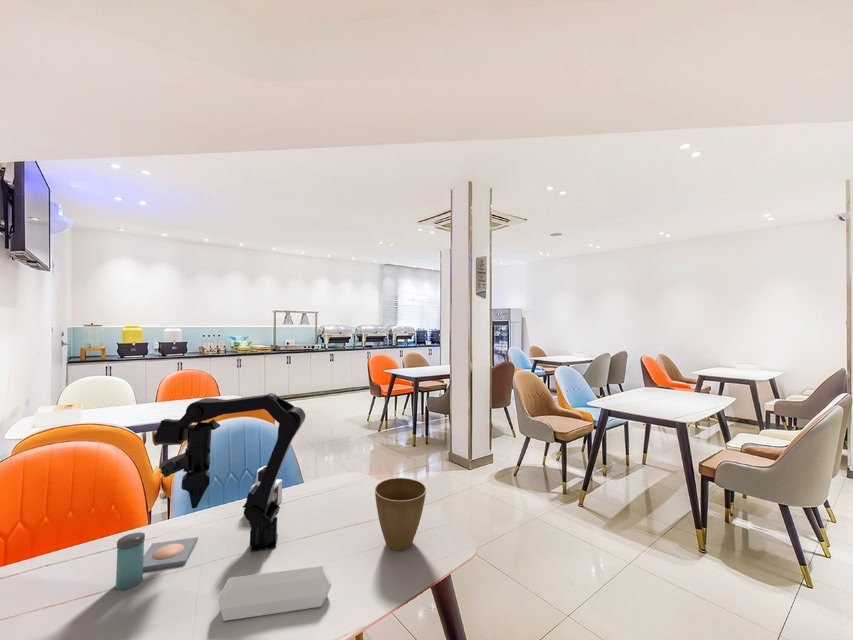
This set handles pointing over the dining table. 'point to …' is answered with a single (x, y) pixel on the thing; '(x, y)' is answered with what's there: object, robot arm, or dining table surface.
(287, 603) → the white hexagonal prism
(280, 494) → the container
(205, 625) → the dining table surface
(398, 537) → the plant pot
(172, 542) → the card
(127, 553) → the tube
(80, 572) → the dining table surface
